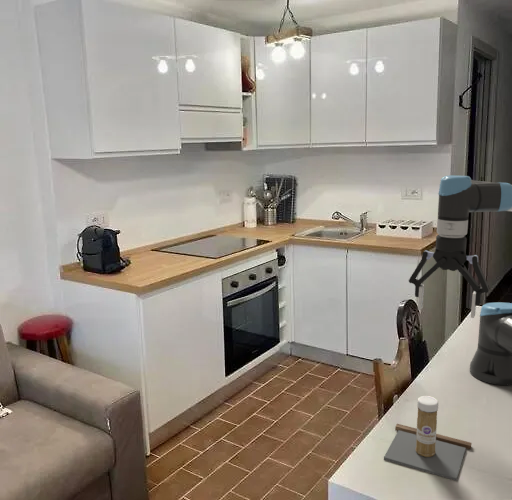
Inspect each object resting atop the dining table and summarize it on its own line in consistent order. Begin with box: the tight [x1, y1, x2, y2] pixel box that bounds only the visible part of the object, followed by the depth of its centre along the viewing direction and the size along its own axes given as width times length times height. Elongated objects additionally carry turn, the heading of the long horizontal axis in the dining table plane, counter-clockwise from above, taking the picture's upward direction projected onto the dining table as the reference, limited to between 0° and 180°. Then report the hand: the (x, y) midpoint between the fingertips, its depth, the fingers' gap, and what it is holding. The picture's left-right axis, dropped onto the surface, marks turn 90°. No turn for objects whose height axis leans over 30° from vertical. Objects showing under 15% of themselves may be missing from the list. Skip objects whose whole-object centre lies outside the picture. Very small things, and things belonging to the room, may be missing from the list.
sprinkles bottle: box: [416, 395, 439, 457], centre depth 122 cm, size 5×5×14 cm
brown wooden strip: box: [394, 423, 473, 450], centre depth 130 cm, size 2×18×1 cm, turn 60°
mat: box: [383, 430, 466, 481], centre depth 123 cm, size 13×16×1 cm
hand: (445, 312), depth 142 cm, fingers open, 13 cm apart
